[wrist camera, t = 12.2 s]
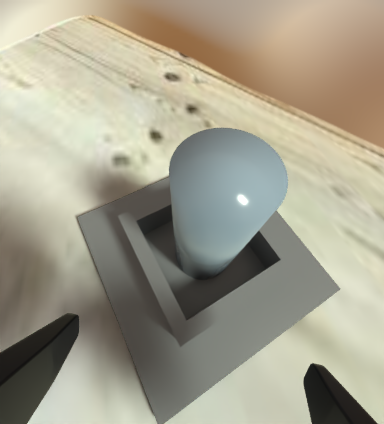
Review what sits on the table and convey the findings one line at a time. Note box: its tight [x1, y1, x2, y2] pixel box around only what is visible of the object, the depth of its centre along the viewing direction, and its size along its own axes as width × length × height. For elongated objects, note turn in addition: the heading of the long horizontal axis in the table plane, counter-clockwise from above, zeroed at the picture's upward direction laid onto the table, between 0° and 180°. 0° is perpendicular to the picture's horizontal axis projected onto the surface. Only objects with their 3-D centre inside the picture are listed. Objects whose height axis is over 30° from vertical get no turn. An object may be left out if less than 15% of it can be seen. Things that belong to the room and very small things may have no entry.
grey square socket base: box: [77, 177, 340, 424], centre depth 17 cm, size 16×16×4 cm
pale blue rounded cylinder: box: [169, 128, 288, 280], centre depth 13 cm, size 4×4×11 cm
